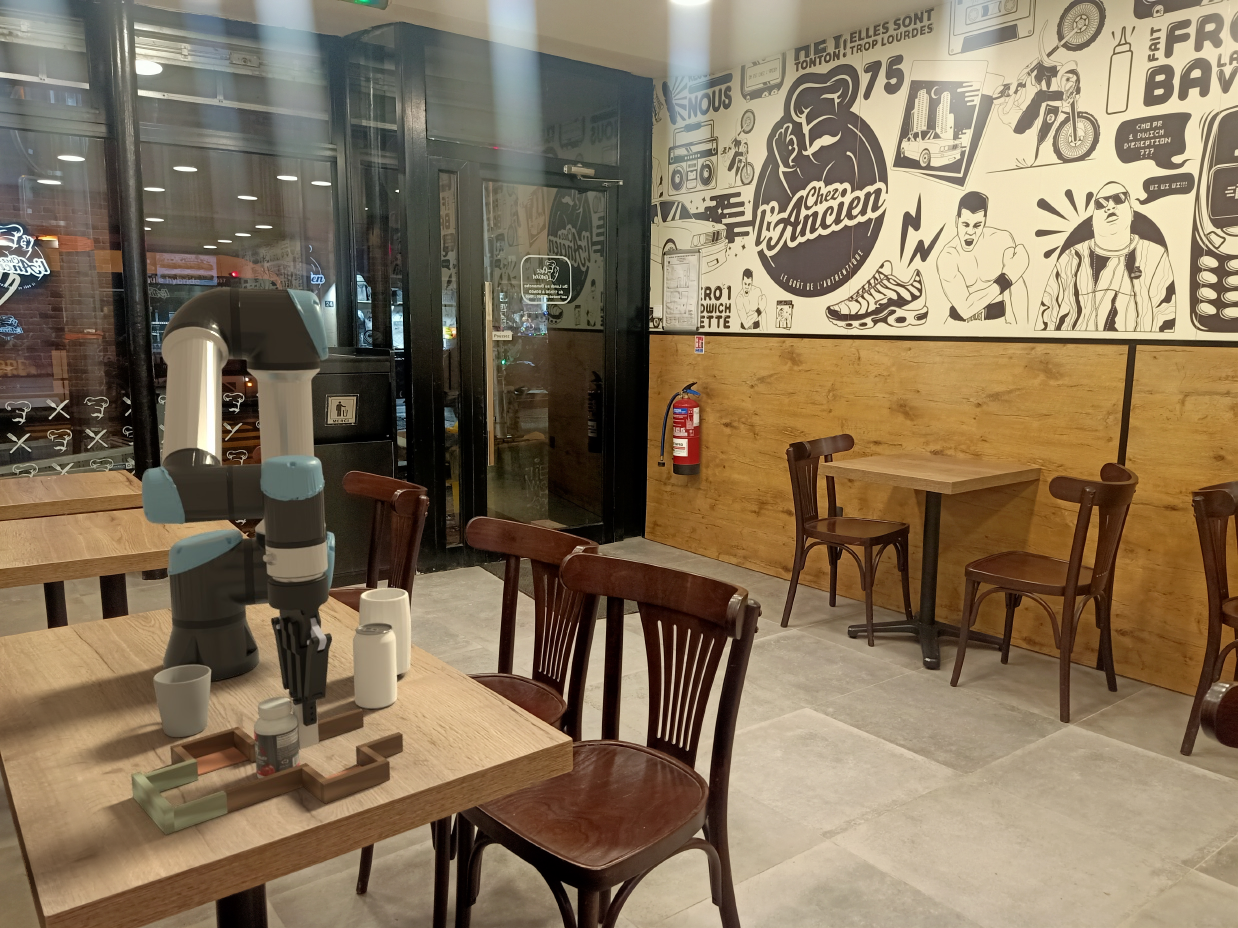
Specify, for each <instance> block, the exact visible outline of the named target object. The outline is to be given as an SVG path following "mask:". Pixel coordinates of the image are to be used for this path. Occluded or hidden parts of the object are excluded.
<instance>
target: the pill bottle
mask: <svg viewBox="0 0 1238 928" xmlns="http://www.w3.org/2000/svg"><path fill="white" fill-rule="evenodd" d="M291 701H292V700H290V698H288V697H285V696H276V697H275V696H274V697H268V698H266V699H263V700H262V701H260V702H259V703H258V705H257V714H258V716H259V718H258V719H256V721H254V724H253V736H254V737H253V739H255V755H256V761H255V768H256V777H257V779H259V778H262V777H265V776H268V775H271V774H274V773H277V772H280V771H283V770H286V769H289V768H292V767H295V766H298V765H301V762H300V759H301V758H300V750H299V736H298V721H297V718H296V716H295V715H293V712H292V702H291ZM291 712H292V713H291Z"/></svg>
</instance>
